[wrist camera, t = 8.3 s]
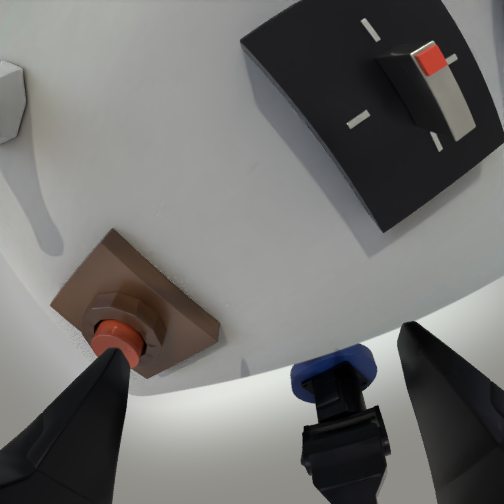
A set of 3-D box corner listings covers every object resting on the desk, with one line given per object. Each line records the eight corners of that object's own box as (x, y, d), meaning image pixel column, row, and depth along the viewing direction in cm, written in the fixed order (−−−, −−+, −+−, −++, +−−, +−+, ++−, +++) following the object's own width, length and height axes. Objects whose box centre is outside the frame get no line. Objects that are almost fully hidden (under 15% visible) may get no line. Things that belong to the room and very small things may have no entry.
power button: (153, 342, 22) (149, 359, 20) (127, 358, 23) (121, 374, 22) (114, 311, 20) (106, 327, 19) (90, 331, 22) (83, 346, 20)
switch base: (482, 131, 16) (508, 141, 14) (368, 214, 20) (384, 235, 18) (385, -34, 11) (406, -48, 8) (241, 47, 15) (238, 39, 12)
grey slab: (435, 114, 14) (480, 128, 10) (416, 127, 14) (459, 144, 11) (395, 45, 12) (436, 39, 8) (374, 58, 12) (412, 53, 9)
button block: (220, 323, 26) (216, 358, 22) (151, 362, 29) (143, 393, 26) (112, 227, 21) (90, 256, 17) (59, 290, 24) (40, 318, 21)
